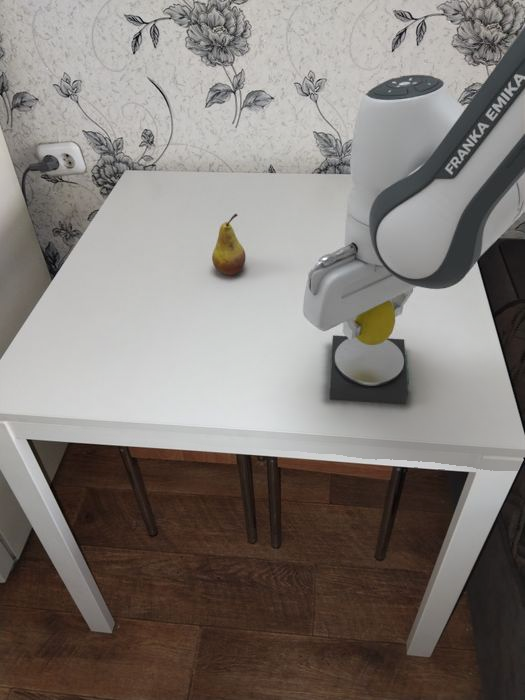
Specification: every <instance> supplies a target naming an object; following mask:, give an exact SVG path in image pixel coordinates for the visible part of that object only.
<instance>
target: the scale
mask: <svg viewBox="0 0 525 700" xmlns="http://www.w3.org/2000/svg"><path fill="white" fill-rule="evenodd" d="M347 339H349V338H348V337H347V336H345V335H336V334H335V335H332V340H331V359H330V360H331V361H330V378H329V379H330V380H329V400H331V401H346V402H357V403H358V402H359V403H372V404H373V403H375V404H388V405H390V404H391V405H404V406H405V405H406V404H407V399H408V395H409V384H410V377H409V364H408V354H406V345H405V344H406V343H405V339H404V338H390V337H388V339H387V340H389V341H391V342H392V343H394V344H395V345H396V346H397V347H398V348H399V349H400V351H401V352H402V355H403V358H404V365H403V370H402V372H401V373H400V375H399V376H398V377H397V378H396V379H395V380H393V381H391V382H389V383H387V384H384V385H379V386H366V385H360V384H357V383H354V382H352V381H350V380H348V379H347V378H345V377H344V376H343V375H342V374H341V373H340V372H339V371H338V369H337V367H336V365H335V352H336V350H337V348H338V346H339V345H340V344H341V343H342V342H343V341H345V340H347Z"/></svg>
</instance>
